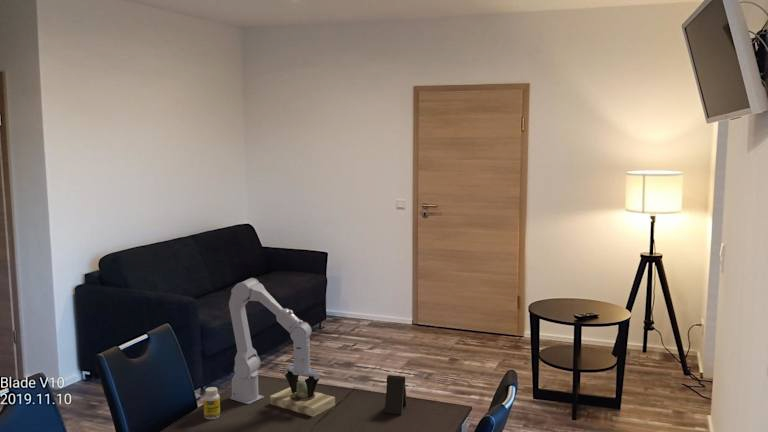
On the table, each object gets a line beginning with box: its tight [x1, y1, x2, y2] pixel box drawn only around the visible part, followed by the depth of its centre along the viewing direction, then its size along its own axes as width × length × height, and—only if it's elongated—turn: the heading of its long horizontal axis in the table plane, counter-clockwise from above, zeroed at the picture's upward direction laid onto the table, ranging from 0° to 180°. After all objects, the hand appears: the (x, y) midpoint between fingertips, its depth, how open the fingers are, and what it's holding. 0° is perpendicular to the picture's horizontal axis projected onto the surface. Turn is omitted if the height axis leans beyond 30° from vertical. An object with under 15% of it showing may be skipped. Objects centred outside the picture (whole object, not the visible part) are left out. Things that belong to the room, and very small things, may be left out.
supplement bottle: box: [203, 386, 221, 420], centre depth 228 cm, size 5×5×10 cm
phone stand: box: [384, 374, 408, 416], centre depth 234 cm, size 9×6×12 cm, turn 165°
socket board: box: [269, 386, 336, 418], centre depth 239 cm, size 20×12×3 cm, turn 56°
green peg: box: [297, 380, 308, 399], centre depth 238 cm, size 4×4×8 cm
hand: (302, 394), depth 238 cm, fingers open, 7 cm apart
